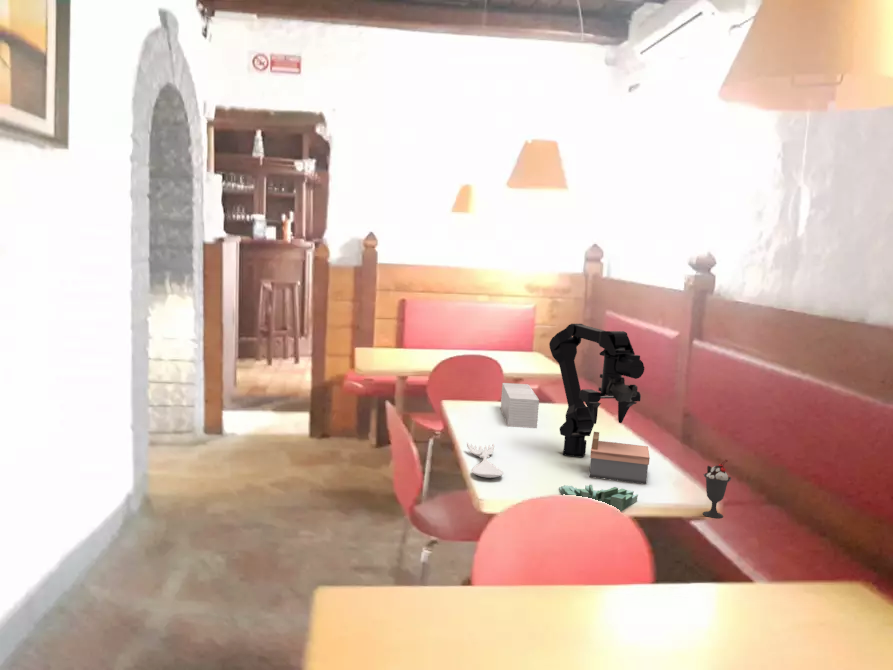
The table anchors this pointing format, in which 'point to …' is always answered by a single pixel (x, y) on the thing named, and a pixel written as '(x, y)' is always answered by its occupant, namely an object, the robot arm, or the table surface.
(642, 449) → the lid
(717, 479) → the sundae
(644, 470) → the base
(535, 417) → the stack of papers
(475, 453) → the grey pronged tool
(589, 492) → the money
